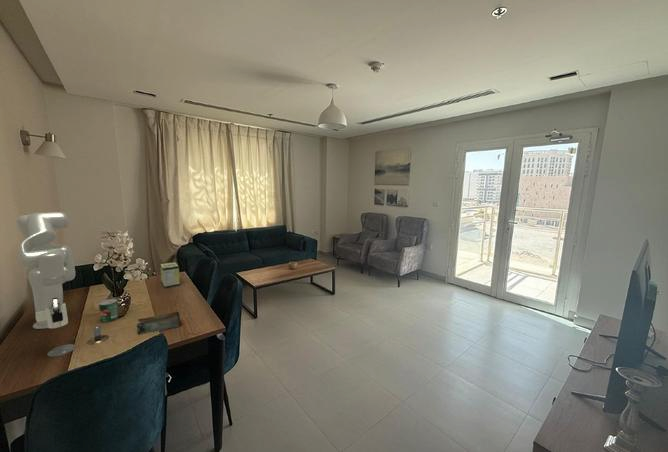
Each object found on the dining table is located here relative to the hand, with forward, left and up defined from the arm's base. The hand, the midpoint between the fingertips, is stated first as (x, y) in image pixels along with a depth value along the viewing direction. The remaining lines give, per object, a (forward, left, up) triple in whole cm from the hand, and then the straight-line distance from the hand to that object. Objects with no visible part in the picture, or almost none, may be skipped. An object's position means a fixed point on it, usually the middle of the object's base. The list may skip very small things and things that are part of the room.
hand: (57, 318), depth 120 cm
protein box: (-25, +84, -16) cm, 89 cm away
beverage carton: (+23, +29, -17) cm, 41 cm away
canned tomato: (-10, +28, -16) cm, 34 cm away
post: (+6, +11, -16) cm, 20 cm away
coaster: (0, 0, -16) cm, 16 cm away
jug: (-1, -1, -3) cm, 4 cm away
